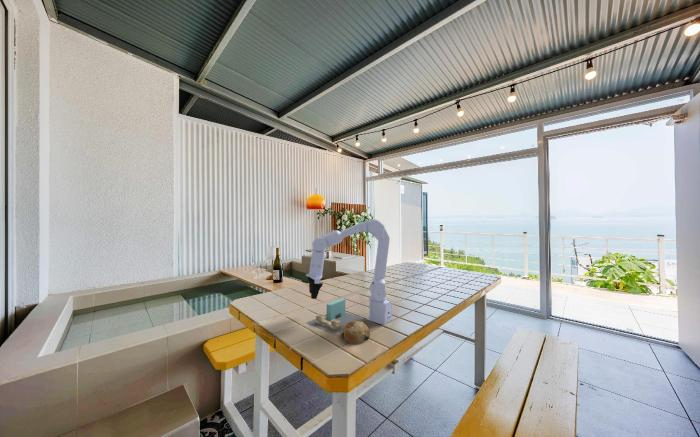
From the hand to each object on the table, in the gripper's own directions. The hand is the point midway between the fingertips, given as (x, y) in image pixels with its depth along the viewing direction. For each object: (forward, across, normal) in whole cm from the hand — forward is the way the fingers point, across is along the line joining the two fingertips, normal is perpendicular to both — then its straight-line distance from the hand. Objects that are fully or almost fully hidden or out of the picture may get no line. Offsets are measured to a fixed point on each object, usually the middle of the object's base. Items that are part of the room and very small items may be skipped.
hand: (312, 295), depth 107 cm
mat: (+9, +4, +11) cm, 15 cm away
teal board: (+9, +1, +11) cm, 14 cm away
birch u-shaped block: (+9, +9, +7) cm, 14 cm away
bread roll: (+9, +21, +15) cm, 27 cm away
